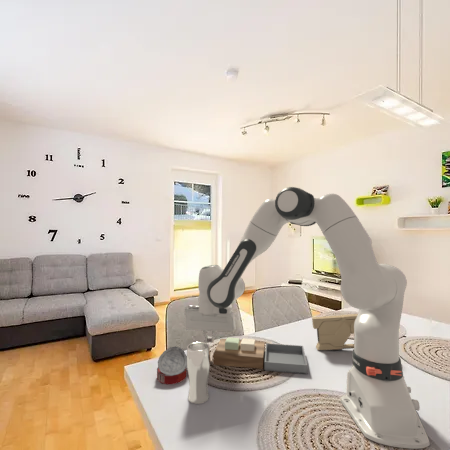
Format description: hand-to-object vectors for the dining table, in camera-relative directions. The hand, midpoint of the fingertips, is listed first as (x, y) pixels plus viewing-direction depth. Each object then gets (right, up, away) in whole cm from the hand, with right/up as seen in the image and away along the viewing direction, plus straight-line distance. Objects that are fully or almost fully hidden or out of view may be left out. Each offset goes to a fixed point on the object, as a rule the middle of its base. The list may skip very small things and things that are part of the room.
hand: (209, 341), depth 109 cm
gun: (+55, -5, +4) cm, 55 cm away
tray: (+28, -5, -5) cm, 29 cm away
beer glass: (-2, -5, -27) cm, 28 cm away
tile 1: (+9, -1, -2) cm, 9 cm away
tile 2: (+15, -1, -3) cm, 15 cm away
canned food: (-12, -6, -15) cm, 20 cm away
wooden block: (+12, -5, -2) cm, 13 cm away
